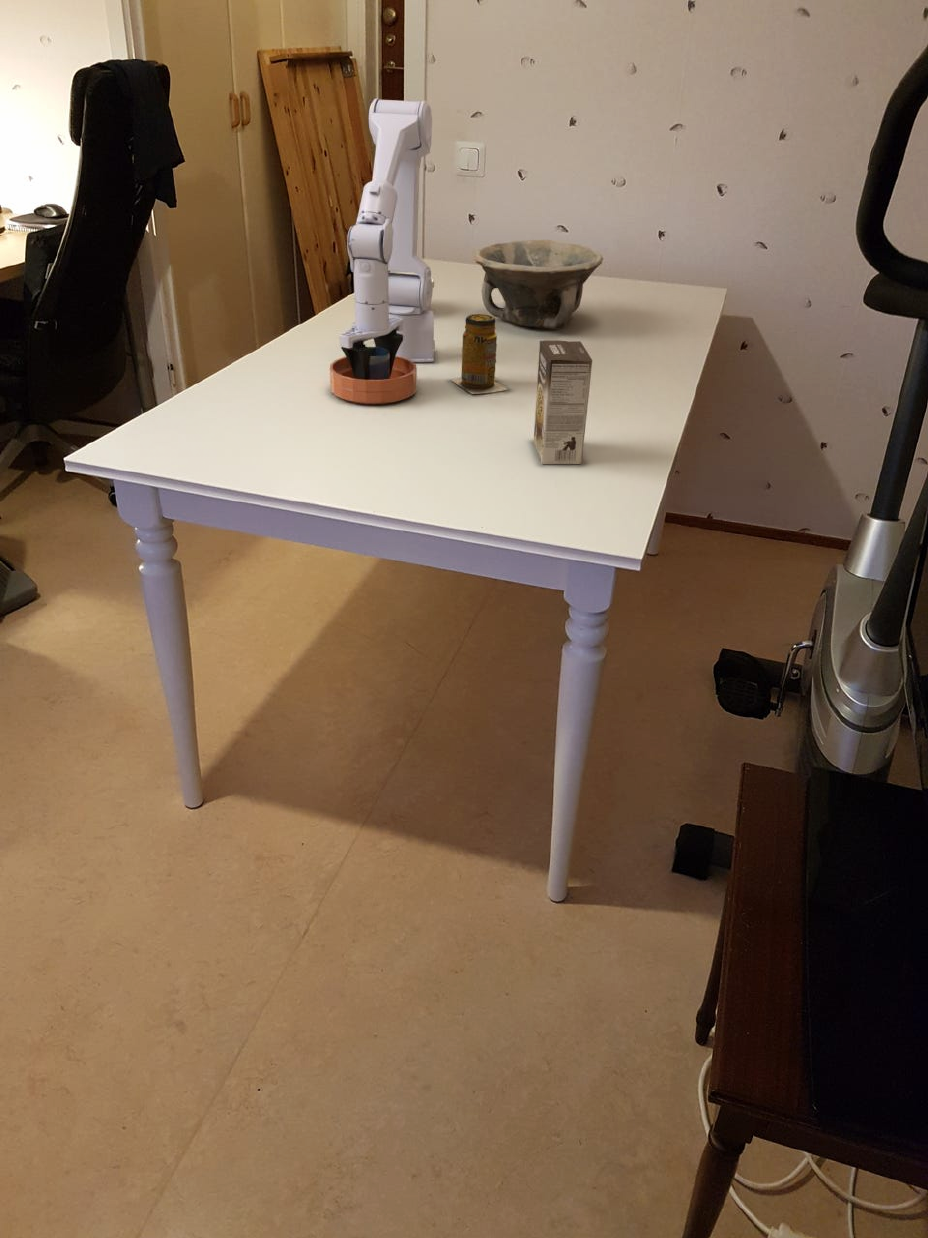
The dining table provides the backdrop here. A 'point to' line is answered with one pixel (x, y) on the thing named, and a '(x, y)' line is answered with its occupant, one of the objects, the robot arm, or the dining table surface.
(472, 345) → the condiment
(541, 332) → the dining table surface
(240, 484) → the dining table surface
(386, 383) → the clay bowl
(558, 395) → the coffee box
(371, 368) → the cup
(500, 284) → the bowl
